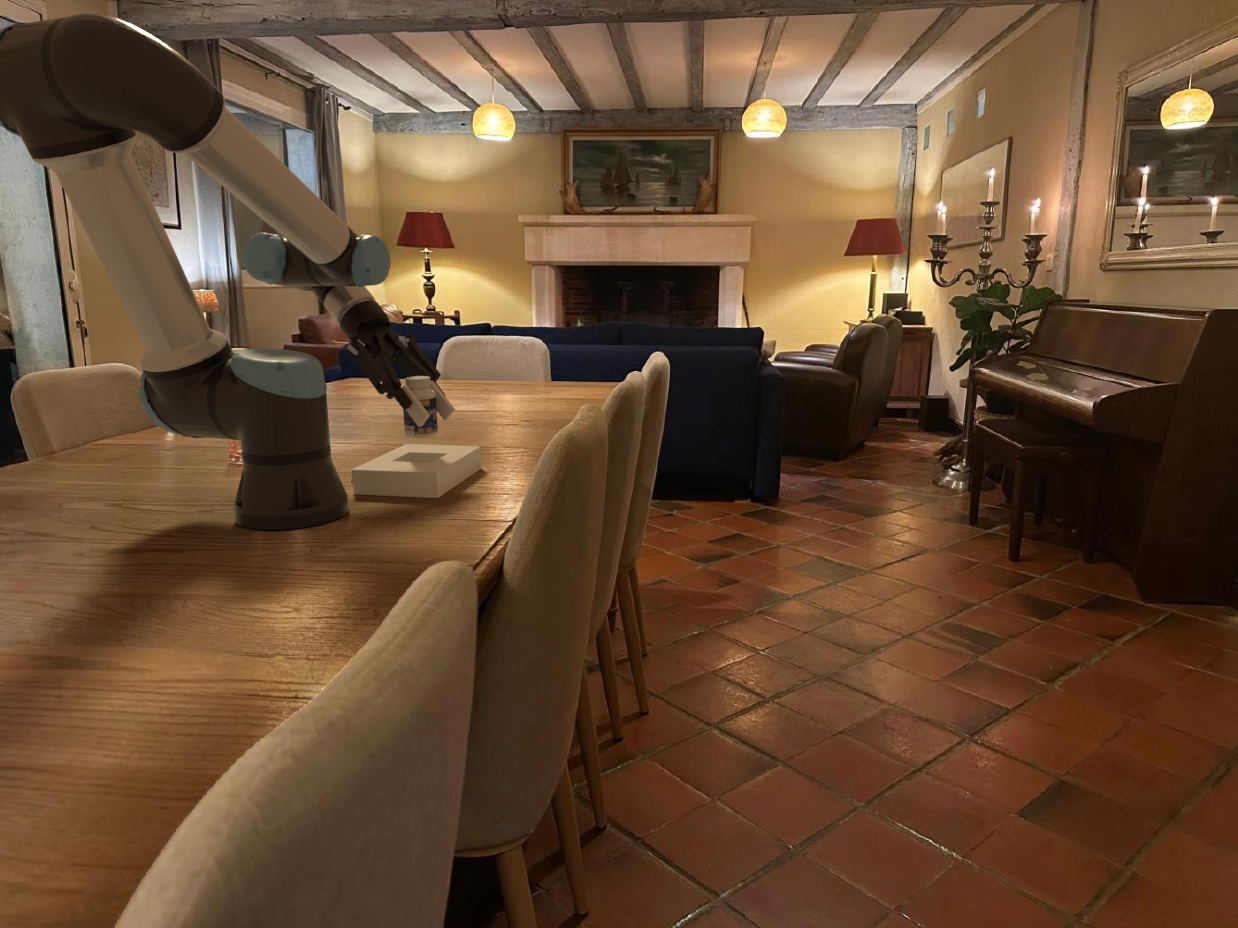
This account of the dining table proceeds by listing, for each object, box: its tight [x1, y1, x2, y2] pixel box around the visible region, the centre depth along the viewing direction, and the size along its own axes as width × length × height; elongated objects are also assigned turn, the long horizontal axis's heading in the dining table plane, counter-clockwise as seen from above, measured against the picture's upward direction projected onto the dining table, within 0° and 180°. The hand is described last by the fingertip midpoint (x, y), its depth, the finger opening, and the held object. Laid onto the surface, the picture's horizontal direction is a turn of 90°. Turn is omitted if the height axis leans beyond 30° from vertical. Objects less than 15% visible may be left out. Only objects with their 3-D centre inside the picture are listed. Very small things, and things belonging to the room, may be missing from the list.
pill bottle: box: [402, 376, 439, 439], centre depth 134 cm, size 5×5×10 cm
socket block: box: [351, 443, 483, 499], centre depth 136 cm, size 14×20×4 cm
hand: (437, 418), depth 133 cm, fingers closed on pill bottle, 5 cm apart
